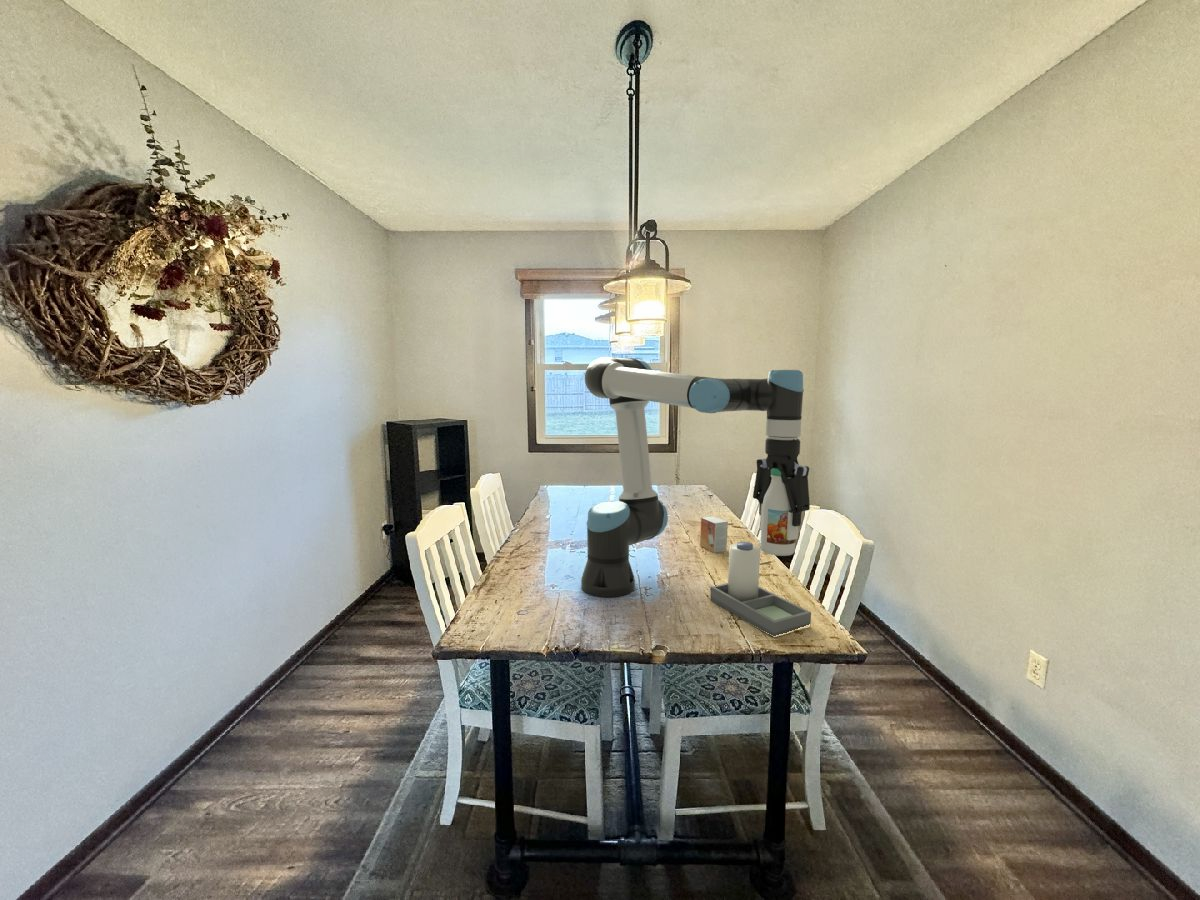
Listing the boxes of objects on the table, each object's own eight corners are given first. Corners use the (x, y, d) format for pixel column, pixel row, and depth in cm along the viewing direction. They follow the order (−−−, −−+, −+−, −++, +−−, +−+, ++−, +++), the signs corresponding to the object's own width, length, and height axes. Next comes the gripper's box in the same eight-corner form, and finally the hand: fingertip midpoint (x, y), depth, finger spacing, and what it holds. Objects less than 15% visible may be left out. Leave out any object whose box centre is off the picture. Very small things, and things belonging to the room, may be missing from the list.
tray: (773, 638, 113) (774, 622, 113) (710, 600, 133) (710, 586, 133) (810, 627, 119) (811, 612, 118) (743, 592, 138) (744, 579, 138)
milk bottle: (754, 551, 119) (757, 467, 116) (769, 543, 124) (773, 464, 122) (785, 559, 113) (790, 471, 111) (800, 551, 119) (805, 467, 116)
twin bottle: (741, 608, 126) (743, 550, 124) (721, 597, 132) (723, 542, 130) (764, 602, 129) (766, 546, 127) (743, 591, 136) (745, 538, 134)
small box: (699, 546, 177) (700, 517, 176) (712, 544, 180) (713, 515, 178) (713, 553, 170) (714, 523, 169) (727, 551, 172) (728, 521, 171)
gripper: (832, 441, 108) (826, 544, 111) (762, 433, 126) (758, 521, 129) (807, 443, 105) (801, 549, 107) (739, 434, 123) (736, 525, 126)
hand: (778, 534), depth 118 cm, fingers closed on milk bottle, 8 cm apart
